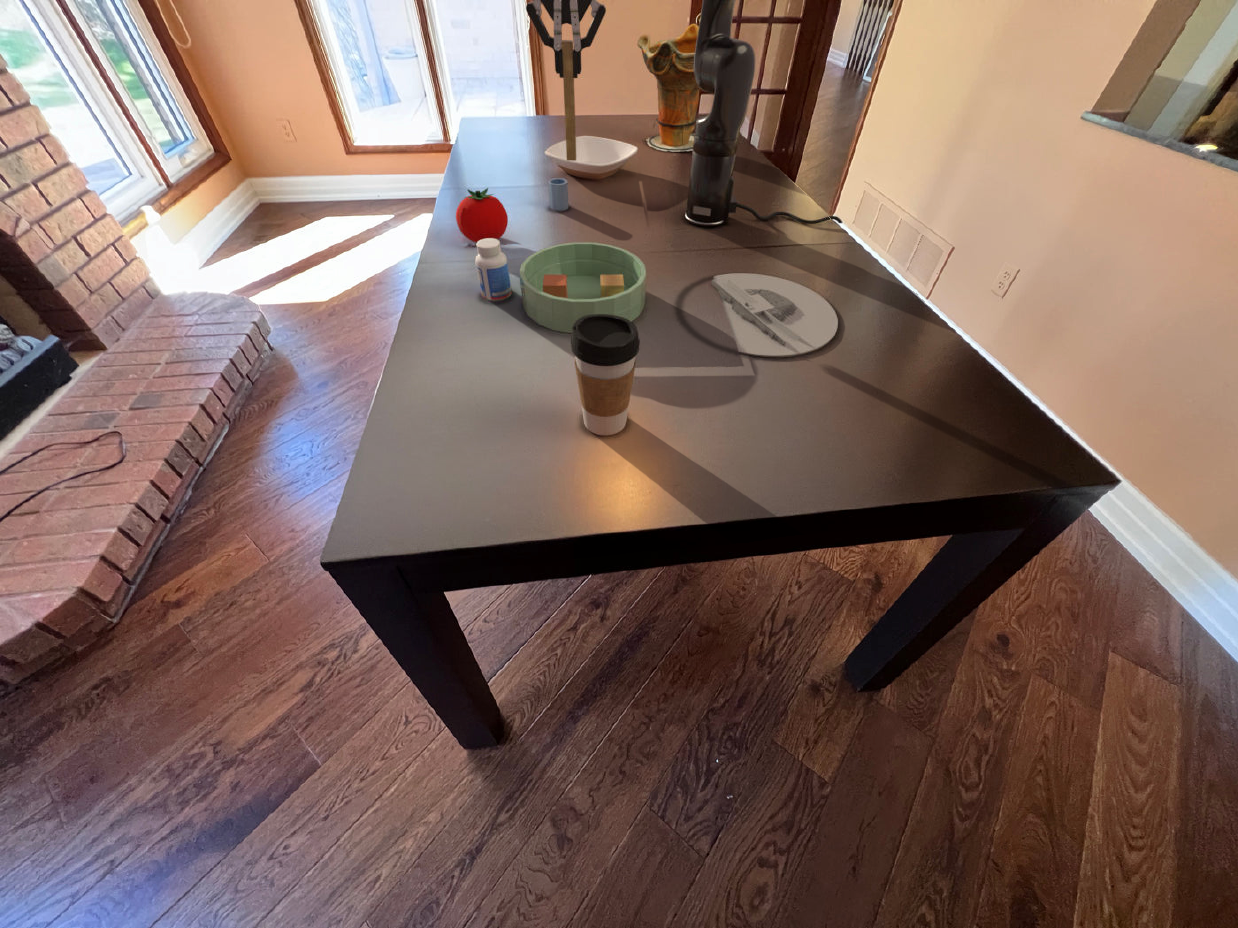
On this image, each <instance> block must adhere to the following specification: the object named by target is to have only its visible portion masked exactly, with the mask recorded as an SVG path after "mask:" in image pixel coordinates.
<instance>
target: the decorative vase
mask: <svg viewBox="0 0 1238 928" xmlns="http://www.w3.org/2000/svg"><path fill="white" fill-rule="evenodd" d="M698 29H699V24H697V23H692V24H690V25H688V27H687V28H686V29H685V30H684V32H683V34H682V35H680V36H678V37H676V38H672V39H671V38H669V39H663V40H662V39H661V40H657V41H653V42H651V36H650V35H649V34H643V35H640V37H639V38H638V40H637V43H636V44H637V47H638V48H639V49H640V50H641V53H642V58H643V61H644V64H645V67H646V69H647V70H648V72H649V73H650V74H652V75H653V77H655V79H656V89H657V106H658V107H657V109H658V110H657V111H658V117H657V118H656V119H655V121H657V124H658V130H659V131H658V132H659V134H655V135H652V136H650V137H648V138H647V139H645V141H646V144H647V145H648V146H649V147H651V148H654V149H655V150H657V151H662V152H672V153H674V152H678V153H679V152H693V144H694V134H695V132H694V131H695V125H696V121H697V118H696V116H697V110H698V107H699V101H700V100H699V99H700V90H701V89H700V88H699V87H698V86H697V84H696V81H695V77H694V56H695V49H696V42H697V36H698ZM655 125H656V123H654V124H653V127H652V129H654V128H655Z"/></svg>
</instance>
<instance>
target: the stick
mask: <svg viewBox="0 0 1238 928" xmlns="http://www.w3.org/2000/svg"><path fill="white" fill-rule="evenodd" d="M573 50H574V44H573V39H562V52H563V76H564V78H562V79H563V81H562V83H563V102H564V103H563V104H564V127H565V140H566V154H567V160H572V161H576V137H577V136H576V135H577V134H576V133H577V132H576V100H575V99H576V97H575V78H573Z"/></svg>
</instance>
